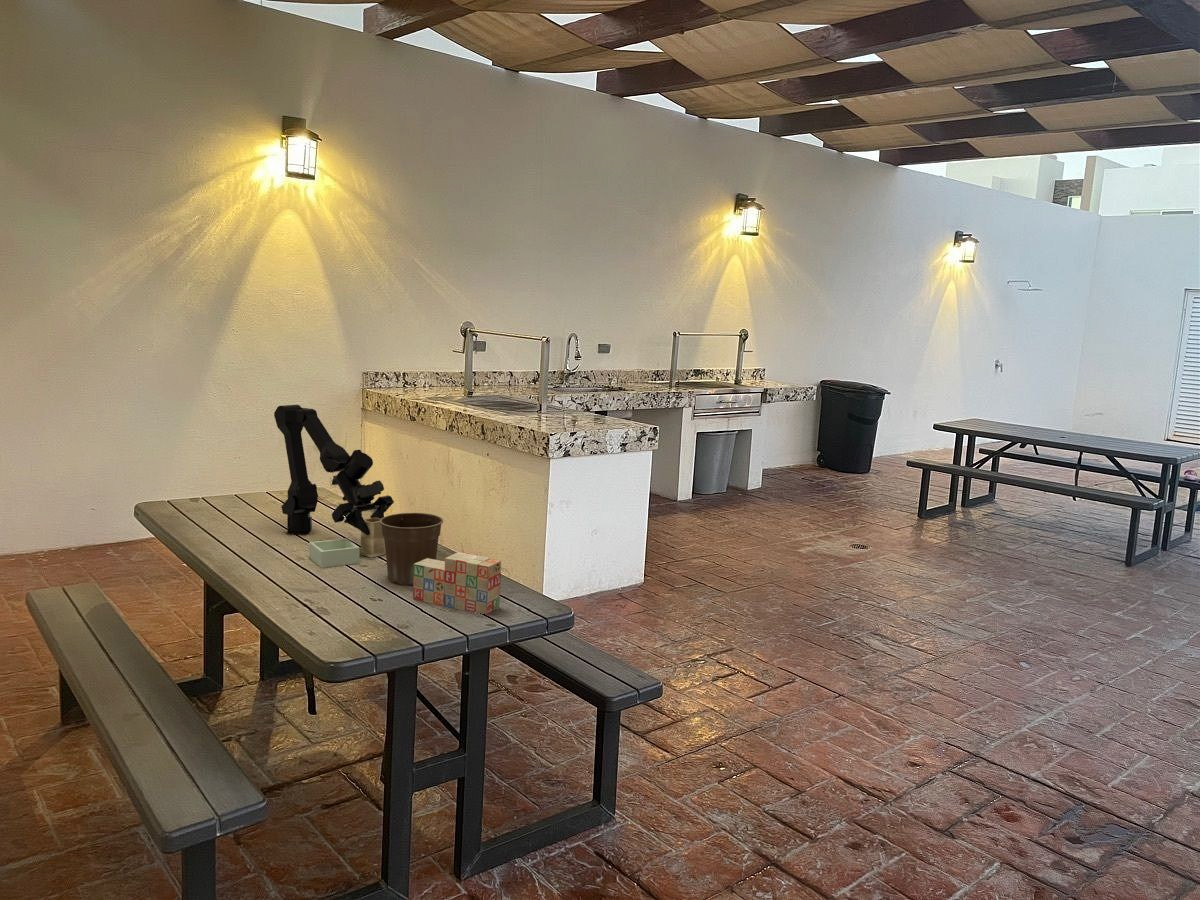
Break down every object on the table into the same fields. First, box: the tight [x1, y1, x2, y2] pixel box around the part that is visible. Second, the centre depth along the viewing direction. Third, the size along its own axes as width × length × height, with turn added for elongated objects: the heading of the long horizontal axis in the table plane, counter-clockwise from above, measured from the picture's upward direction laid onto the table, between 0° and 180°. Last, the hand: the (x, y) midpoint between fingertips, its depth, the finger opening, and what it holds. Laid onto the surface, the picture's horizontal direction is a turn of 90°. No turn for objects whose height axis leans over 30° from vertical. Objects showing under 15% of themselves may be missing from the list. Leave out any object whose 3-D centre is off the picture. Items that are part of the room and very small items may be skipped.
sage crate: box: [308, 538, 360, 569], centre depth 255 cm, size 11×11×4 cm
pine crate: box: [360, 517, 386, 559], centre depth 262 cm, size 5×5×10 cm
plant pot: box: [380, 512, 444, 586], centre depth 241 cm, size 16×16×16 cm
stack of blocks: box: [412, 551, 502, 615], centre depth 224 cm, size 21×6×12 cm, turn 66°
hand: (377, 532), depth 261 cm, fingers closed on pine crate, 5 cm apart
